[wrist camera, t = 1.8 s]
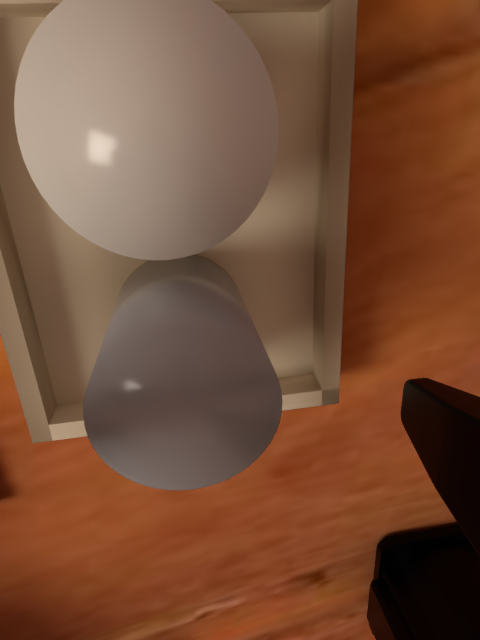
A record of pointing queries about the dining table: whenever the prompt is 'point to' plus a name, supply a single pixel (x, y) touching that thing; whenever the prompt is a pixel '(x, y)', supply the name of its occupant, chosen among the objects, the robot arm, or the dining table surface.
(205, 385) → the grey rounded piece
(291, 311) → the birch tray
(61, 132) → the pale pebble
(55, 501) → the dining table surface
